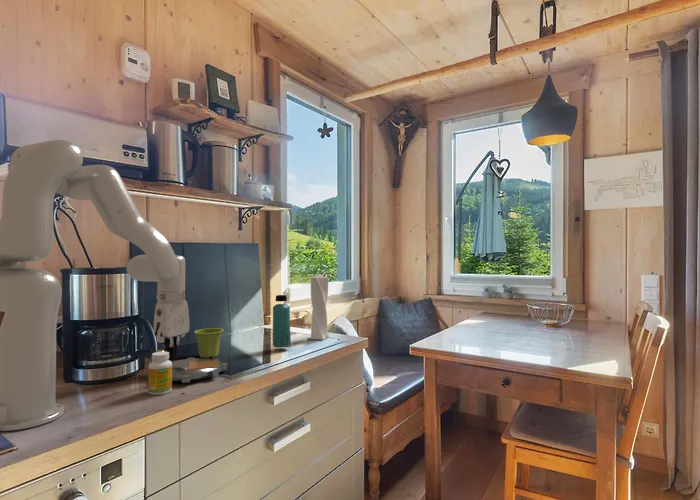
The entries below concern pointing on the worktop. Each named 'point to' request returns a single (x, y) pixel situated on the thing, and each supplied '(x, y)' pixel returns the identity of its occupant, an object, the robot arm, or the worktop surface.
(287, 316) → the beverage bottle
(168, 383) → the supplement bottle
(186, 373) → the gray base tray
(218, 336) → the plant pot
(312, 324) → the skyscraper
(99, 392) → the worktop surface
